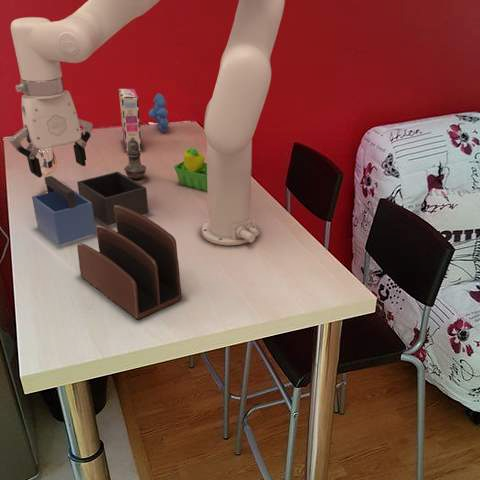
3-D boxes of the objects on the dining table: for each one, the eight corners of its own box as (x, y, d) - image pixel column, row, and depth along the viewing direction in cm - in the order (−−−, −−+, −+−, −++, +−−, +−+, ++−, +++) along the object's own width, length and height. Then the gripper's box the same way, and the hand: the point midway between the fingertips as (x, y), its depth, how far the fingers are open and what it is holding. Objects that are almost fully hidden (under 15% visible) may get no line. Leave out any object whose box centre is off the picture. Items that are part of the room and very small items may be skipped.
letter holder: (124, 260, 120) (117, 198, 112) (182, 300, 108) (179, 233, 101) (80, 277, 113) (69, 212, 106) (137, 321, 102) (130, 251, 94)
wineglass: (66, 192, 148) (59, 146, 142) (53, 200, 143) (45, 154, 137) (46, 189, 149) (38, 144, 143) (33, 197, 145) (24, 151, 138)
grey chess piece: (135, 186, 153) (131, 142, 147) (120, 180, 156) (115, 137, 150) (151, 180, 157) (148, 137, 151) (137, 174, 160) (133, 132, 154)
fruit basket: (224, 184, 156) (224, 144, 150) (206, 195, 149) (205, 153, 144) (189, 176, 161) (187, 136, 155) (170, 186, 154) (168, 145, 148)
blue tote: (96, 235, 129) (89, 187, 123) (59, 247, 124) (50, 197, 117) (73, 218, 135) (66, 172, 129) (38, 229, 130) (28, 181, 124)
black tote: (148, 215, 138) (146, 187, 135) (108, 227, 132) (104, 199, 128) (120, 197, 146) (117, 171, 143) (81, 208, 140) (77, 181, 136)
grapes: (146, 126, 197) (143, 90, 191) (165, 125, 200) (163, 89, 193) (152, 136, 188) (150, 99, 182) (173, 135, 190) (171, 98, 184)
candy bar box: (143, 151, 176) (138, 96, 168) (126, 152, 175) (120, 97, 166) (139, 139, 185) (134, 87, 177) (123, 140, 184) (117, 88, 175)
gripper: (6, 98, 105) (27, 185, 114) (93, 83, 115) (105, 164, 124) (-9, 90, 110) (12, 175, 119) (76, 77, 120) (89, 155, 129)
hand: (59, 169), depth 122 cm, fingers open, 9 cm apart
